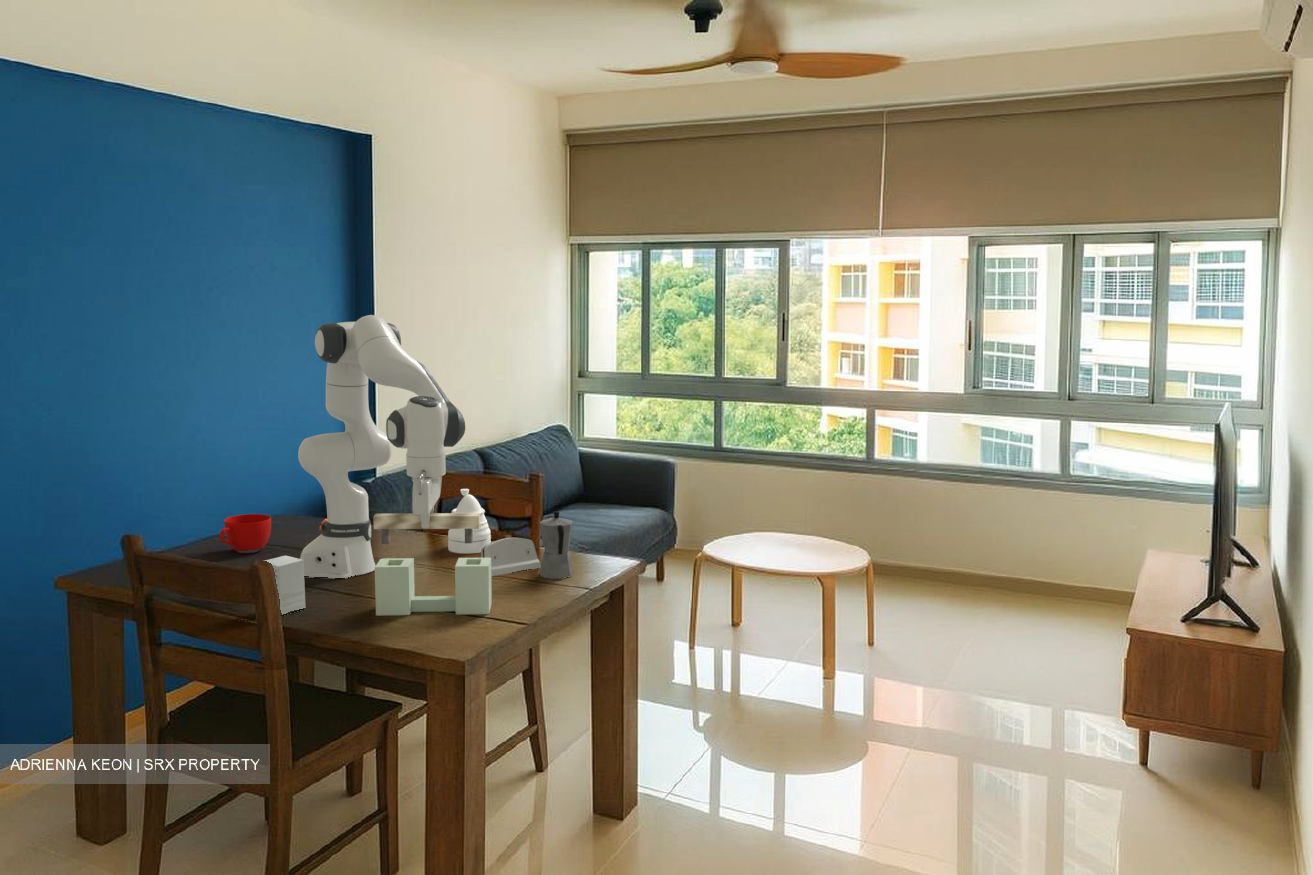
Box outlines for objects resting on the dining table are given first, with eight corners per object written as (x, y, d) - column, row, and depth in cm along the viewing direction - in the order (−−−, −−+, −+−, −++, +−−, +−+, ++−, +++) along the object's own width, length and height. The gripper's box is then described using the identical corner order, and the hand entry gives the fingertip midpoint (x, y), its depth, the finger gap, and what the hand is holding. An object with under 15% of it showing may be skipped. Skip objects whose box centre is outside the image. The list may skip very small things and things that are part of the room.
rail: (374, 543, 234) (373, 516, 233) (376, 540, 237) (375, 513, 236) (478, 543, 236) (478, 516, 235) (480, 540, 239) (479, 513, 238)
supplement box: (287, 603, 252) (285, 554, 250) (306, 609, 248) (304, 559, 246) (261, 611, 246) (259, 560, 244) (280, 617, 242) (278, 565, 240)
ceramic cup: (205, 557, 295) (203, 523, 293) (248, 544, 310) (247, 512, 309) (239, 562, 290) (237, 528, 288) (281, 548, 305) (280, 516, 304)
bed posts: (376, 615, 244) (374, 567, 242) (382, 605, 252) (381, 558, 250) (488, 613, 246) (488, 566, 244) (491, 603, 254) (491, 557, 252)
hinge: (489, 576, 278) (483, 540, 280) (482, 578, 282) (476, 543, 283) (542, 567, 288) (536, 533, 289) (534, 569, 292) (528, 535, 293)
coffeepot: (536, 569, 286) (536, 507, 284) (569, 567, 288) (569, 505, 286) (544, 584, 271) (544, 519, 269) (578, 582, 274) (579, 517, 271)
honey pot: (439, 548, 308) (438, 490, 306) (472, 541, 318) (472, 484, 315) (466, 555, 300) (465, 496, 297) (499, 548, 310) (499, 490, 307)
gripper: (433, 475, 224) (434, 536, 226) (445, 459, 244) (446, 515, 246) (404, 475, 223) (406, 536, 225) (418, 459, 243) (420, 515, 245)
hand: (427, 525), depth 236 cm, fingers closed on rail, 3 cm apart
